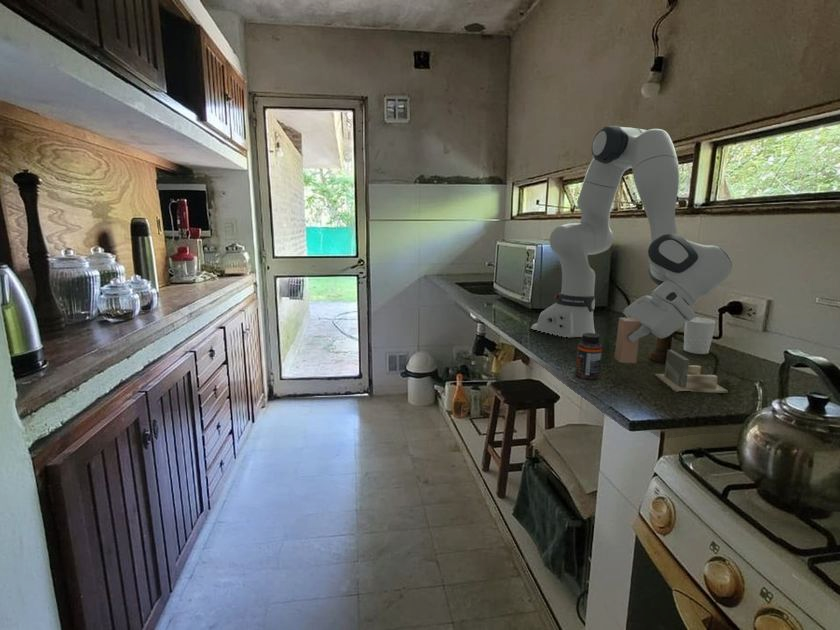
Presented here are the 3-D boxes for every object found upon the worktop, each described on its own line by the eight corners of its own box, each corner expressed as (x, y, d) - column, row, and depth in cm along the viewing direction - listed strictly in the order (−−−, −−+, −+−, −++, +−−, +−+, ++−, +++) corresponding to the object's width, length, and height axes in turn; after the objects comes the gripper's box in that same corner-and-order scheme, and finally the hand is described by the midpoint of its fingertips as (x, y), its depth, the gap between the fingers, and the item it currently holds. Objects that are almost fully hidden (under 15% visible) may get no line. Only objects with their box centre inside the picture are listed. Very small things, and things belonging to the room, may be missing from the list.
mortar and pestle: (644, 357, 131) (651, 298, 127) (659, 355, 133) (666, 296, 130) (664, 364, 125) (671, 302, 121) (679, 361, 127) (687, 300, 124)
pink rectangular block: (630, 358, 116) (635, 317, 114) (636, 363, 112) (641, 321, 110) (614, 357, 117) (619, 317, 114) (620, 362, 113) (625, 321, 110)
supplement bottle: (571, 372, 118) (574, 331, 115) (592, 372, 118) (596, 331, 116) (581, 380, 112) (584, 337, 109) (603, 379, 112) (607, 337, 110)
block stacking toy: (702, 376, 115) (706, 349, 113) (727, 392, 104) (732, 362, 102) (654, 375, 116) (657, 348, 114) (675, 391, 105) (679, 361, 103)
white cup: (715, 355, 133) (720, 323, 131) (686, 354, 134) (691, 322, 132) (704, 348, 140) (708, 318, 138) (677, 347, 142) (681, 316, 140)
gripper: (644, 284, 120) (604, 318, 123) (682, 299, 100) (633, 338, 103) (659, 301, 121) (618, 334, 124) (699, 318, 101) (650, 357, 104)
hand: (625, 336), depth 113 cm, fingers closed on pink rectangular block, 4 cm apart
